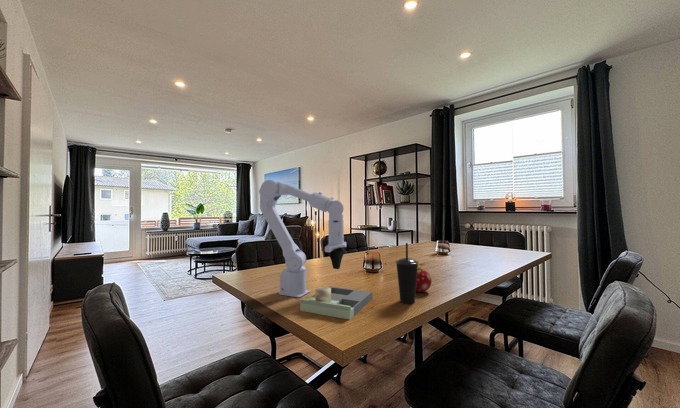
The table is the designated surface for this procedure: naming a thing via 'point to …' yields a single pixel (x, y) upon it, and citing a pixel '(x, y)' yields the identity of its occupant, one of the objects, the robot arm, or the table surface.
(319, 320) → the table surface
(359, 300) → the trap deck
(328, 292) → the beige rounded cylinder
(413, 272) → the drinking cup
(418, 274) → the christmas ornament
